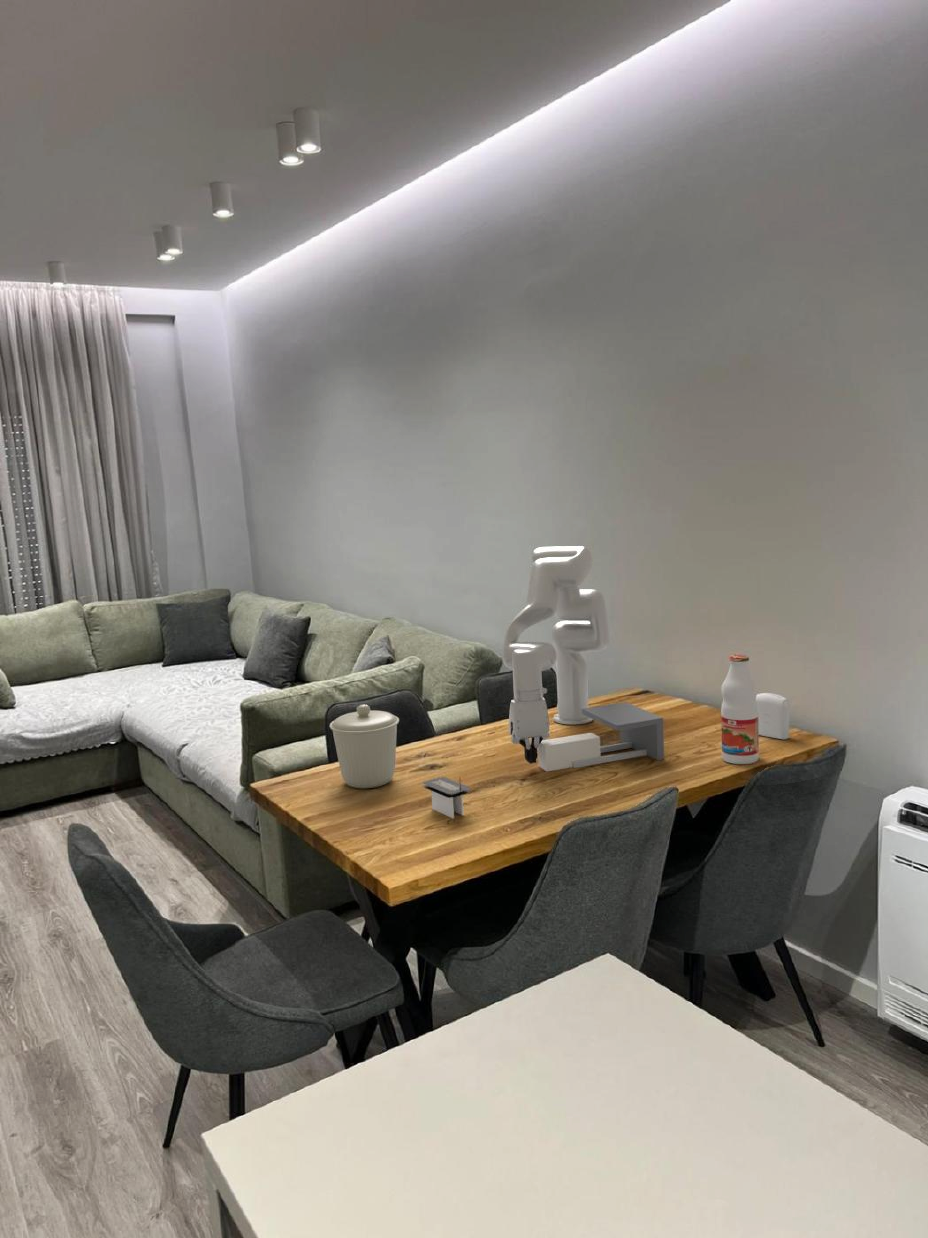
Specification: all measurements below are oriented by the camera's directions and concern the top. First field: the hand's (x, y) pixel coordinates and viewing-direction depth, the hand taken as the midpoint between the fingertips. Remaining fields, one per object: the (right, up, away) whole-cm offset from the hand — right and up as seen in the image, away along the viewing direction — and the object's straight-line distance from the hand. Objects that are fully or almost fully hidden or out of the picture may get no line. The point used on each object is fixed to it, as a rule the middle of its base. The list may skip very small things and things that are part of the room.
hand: (531, 761), depth 251 cm
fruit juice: (+55, +1, -1) cm, 55 cm away
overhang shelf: (+21, 0, +8) cm, 23 cm away
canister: (-43, -5, -2) cm, 43 cm away
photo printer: (+70, +4, +17) cm, 72 cm away
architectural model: (-22, -9, -27) cm, 35 cm away
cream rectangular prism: (+11, -1, +3) cm, 11 cm away
